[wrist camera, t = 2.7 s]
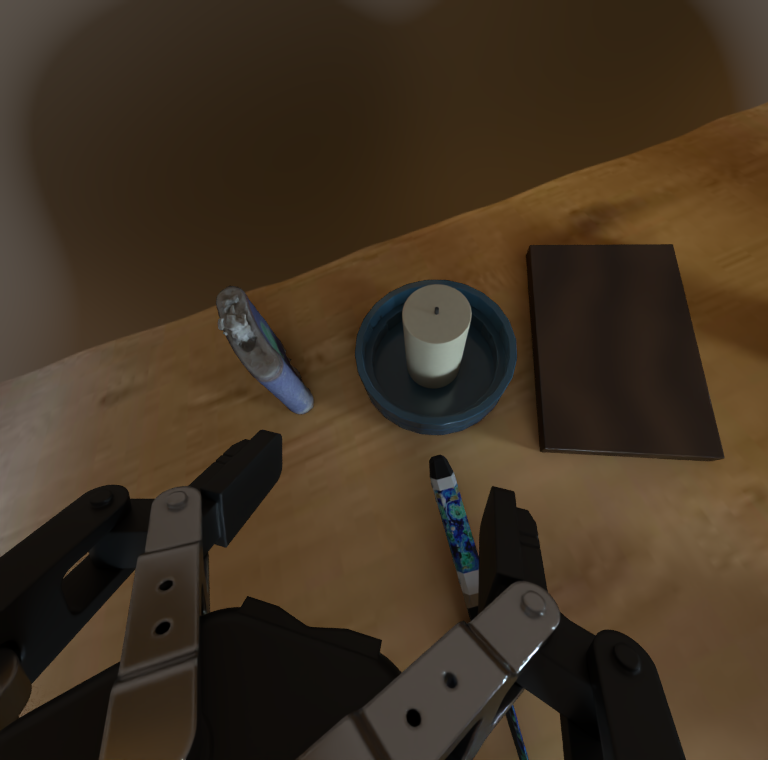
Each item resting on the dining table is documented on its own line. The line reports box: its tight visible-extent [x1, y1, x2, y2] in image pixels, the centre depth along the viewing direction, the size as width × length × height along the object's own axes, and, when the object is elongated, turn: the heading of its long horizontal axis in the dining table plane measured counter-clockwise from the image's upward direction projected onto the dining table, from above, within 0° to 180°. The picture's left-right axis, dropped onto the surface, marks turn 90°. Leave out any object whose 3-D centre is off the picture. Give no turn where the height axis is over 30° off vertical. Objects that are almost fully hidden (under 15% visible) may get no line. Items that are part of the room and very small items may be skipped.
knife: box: [429, 455, 529, 760], centre depth 24 cm, size 31×3×4 cm, turn 11°
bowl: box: [355, 280, 517, 435], centre depth 33 cm, size 13×13×4 cm
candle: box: [402, 284, 472, 389], centre depth 30 cm, size 5×5×10 cm
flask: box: [216, 286, 314, 414], centre depth 31 cm, size 9×3×11 cm, turn 32°
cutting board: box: [526, 244, 724, 461], centre depth 33 cm, size 13×20×2 cm, turn 176°
